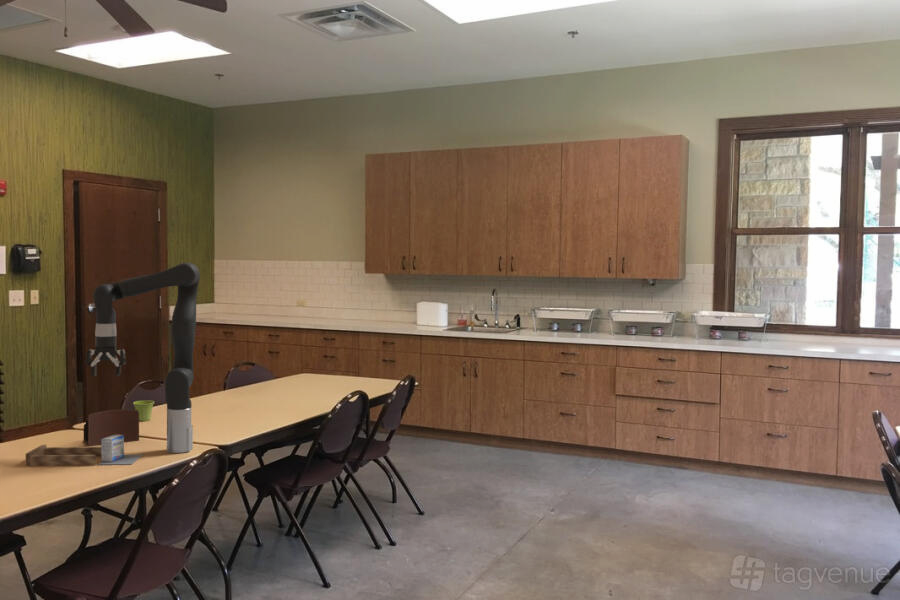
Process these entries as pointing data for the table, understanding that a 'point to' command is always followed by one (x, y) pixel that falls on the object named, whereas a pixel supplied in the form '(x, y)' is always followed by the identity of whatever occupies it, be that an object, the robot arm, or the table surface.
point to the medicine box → (112, 448)
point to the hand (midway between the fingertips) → (106, 375)
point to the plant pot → (144, 409)
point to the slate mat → (123, 460)
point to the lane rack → (62, 456)
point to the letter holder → (111, 426)
